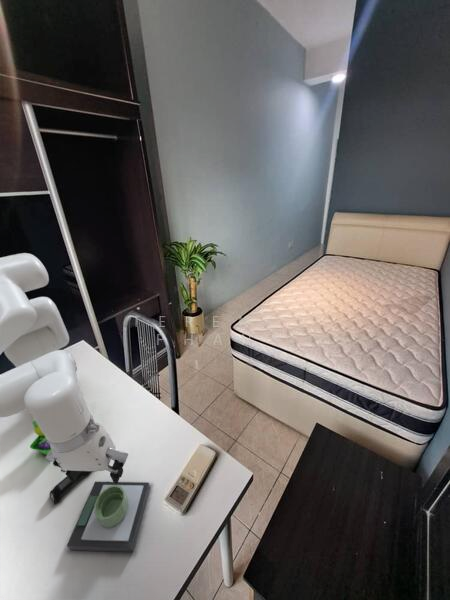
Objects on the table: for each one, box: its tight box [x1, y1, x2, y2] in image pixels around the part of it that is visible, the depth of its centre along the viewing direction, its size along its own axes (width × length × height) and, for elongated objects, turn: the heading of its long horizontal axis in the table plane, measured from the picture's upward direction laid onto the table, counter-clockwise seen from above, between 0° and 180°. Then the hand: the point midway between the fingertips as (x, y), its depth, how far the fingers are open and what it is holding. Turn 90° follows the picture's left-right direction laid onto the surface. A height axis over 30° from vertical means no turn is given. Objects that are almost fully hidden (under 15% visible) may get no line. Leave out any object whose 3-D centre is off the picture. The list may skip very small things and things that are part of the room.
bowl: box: [94, 485, 129, 527], centre depth 60 cm, size 7×7×5 cm
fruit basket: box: [29, 419, 51, 455], centre depth 78 cm, size 11×9×11 cm
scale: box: [66, 481, 151, 553], centre depth 62 cm, size 15×13×3 cm
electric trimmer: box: [49, 471, 92, 505], centre depth 70 cm, size 4×16×3 cm, turn 142°
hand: (97, 475), depth 56 cm, fingers open, 9 cm apart
